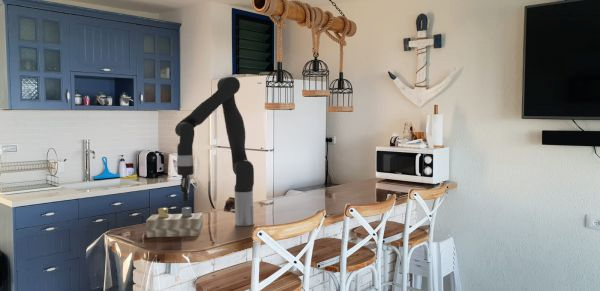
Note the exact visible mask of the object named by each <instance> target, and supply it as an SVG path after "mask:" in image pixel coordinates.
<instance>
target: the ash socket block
mask: <svg viewBox="0 0 600 291" xmlns="http://www.w3.org/2000/svg"><path fill="white" fill-rule="evenodd" d="M145 222H146V224H145V226H146V227H145V228H146V238H165V237H170V238H171V237H197V236H198V237H200V235H201V233H202V231H203V229H204V228H203V227H204V225H203V213H202V212H201V213H197V212H196V213H191V217H187V218H182V213H168V218H159V216H158V214H151V216H149V217H148V218H147V219H146V221H145Z"/></svg>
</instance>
